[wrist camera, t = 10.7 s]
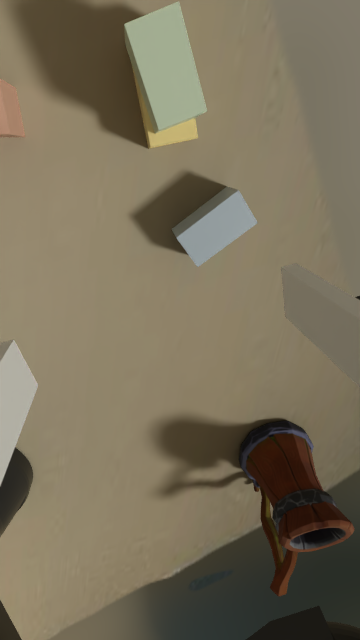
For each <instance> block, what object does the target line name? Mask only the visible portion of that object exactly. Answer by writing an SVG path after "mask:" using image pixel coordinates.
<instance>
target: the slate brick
mask: <svg viewBox="0 0 360 640" xmlns="http://www.w3.org/2000/svg"><path fill="white" fill-rule="evenodd" d="M255 224H257V221H256V219H255V217H254V216H253V214H252V212H251V211H250V209H249V207H248V205H247V204H246V202H245V200H244V199H243V197H242V195H241V193H240V192H239V190H237V189H233V188H230V187H225V188H224V189H223V190H222V191H220V192H219V193H218V194H216V195H215V196H214V197H212V198H211V199H210V200H209V201H207V202H206V203H205V204H203V205H202V206H201V207H199V208H198V209H197V210H196V211H194V212H193V213H192V214H190V215H189V216H188V217H187V218H185V219H184V220H183V221H181V222H180V223H179V224H177V225H176V226H175V227H174V228H172V231H173V233H174V235H175V236H176V238H177V239H178V241H179V242H180V244H181V245H182V246H183V248H184V249H185V250H186V252H187V253H188V255H189V256H190V257H191V259H192V260H193V261H194V263H195V264H196V265H197V267H198V266H200V265H201V264H202V263H204V262H205V261H207V260H208V259H209V258H211V257H212V256H213V255H215V254H216V253H217V252H219V251H220V250H221V249H223V248H224V247H226V246H227V245H228V244H230V243H231V242H232V241H234V240H235V239H236V238H238V237H239V236H240V235H242V234H243V233H245V232H246V231H247V230H249V229H250V228H251V227H253V226H254V225H255Z"/></svg>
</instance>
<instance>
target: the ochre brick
mask: <svg viewBox="0 0 360 640" xmlns="http://www.w3.org/2000/svg"><path fill="white" fill-rule="evenodd" d="M131 64H132V63H131ZM132 69H133V66H132ZM133 74H134V79H135V84H136V89H137V94H138V99H139V104H140V109H141V114H142V119H143V124H144V129H145V134H146V139H147V144H148V149H149V148H154V147H159V146H164V145H169V144H174V143H178V142H183V141H188V140H192V139H196V138H198V135H197V128H196V121H195V118H194V119H191V120H189V121H186V122H184V123H181V124H179V125H176V126H174V127H171V128H169V129H166V130H164V131H161V132H159V133H156V134H155V132H154V129H153V126H152V123H151V120H150V117H149V114H148V111H147V108H146V105H145V102H144V99H143V96H142V93H141V90H140V87H139V84H138V81H137V78H136V75H135V72H134V69H133Z"/></svg>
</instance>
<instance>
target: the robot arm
mask: <svg viewBox="0 0 360 640" xmlns="http://www.w3.org/2000/svg"><path fill="white" fill-rule="evenodd" d="M281 272H282V284H283V297H284V309H285V317H286V318H287V319H288V320H289V321H290V322H291V323H292V324H293V325H294V326H295V327H297V328H298V329H299V330H300V331H301V332H302V333H303V334H304V335H305V336H306V337H307V338H308V339H309V340H310V341H311V342H312V343H313V344H314V345H316V346H317V347H318V348H319V349H320V350H321V351H322V352H323V353H324V354H325V355H326V356H327V357H328V358H329V359H330V360H331V361H332V362H333V363H335V364H336V365H337V366H338V367H339V368H340V369H341V370H342V371H343V372H344V373H345V374H346V375H347V376H348V377H349V378H350V379H351V380H352V381H354V382H355V383H356V384H357V385H358V386H359V387H360V296H357V297H354V296H352V295H350V294H348V293H347V292H345V291H343V290H342V289H340V288H338V287H336V286H335V285H333V284H331V283H329V282H328V281H326V280H324V279H323V278H321V277H319V276H317V275H316V274H314V273H312V272H310V271H309V270H307V269H305V268H304V267H302V266H300V265H298V264H297V263H295V264H291V265H288V266H284V267H281ZM37 387H38V384H37V382H36V380H35V378H34V376H33V375H32V373H31V371H30V369H29V367H28V365H27V363H26V361H25V360H24V358H23V356H22V354H21V352H20V350H19V348H18V346H17V345H16V343H15V341H14V340H10V341H7V342H3V343H0V537H1V535H2V534H3V532H4V531H5V529H6V528H7V526H8V525H9V523H10V522H11V520H12V519H13V517H14V515H15V514H16V512H17V511H18V510H19V509H20V508H21V506H22V505H23V504H24V502H25V501H26V499H27V496H28V494H29V491H30V487H31V484H32V480H33V471H32V467H31V465H30V463H29V461H28V460H27V458H26V457H25V456H24V455H23V454H22V453H21V452H20V451H19V450H18V449H16V448H15V446H16V443H17V440H18V438H19V435H20V432H21V430H22V427H23V424H24V422H25V419H26V416H27V414H28V411H29V408H30V406H31V403H32V400H33V398H34V395H35V392H36V390H37ZM0 640H22V639H21V638H20V636H19V634H18V632H17V630H16V628H15V626H14V625H13V623H12V621H11V619H10V617H9V615H8V614H7V612H6V610H5V608H4V606H3V604H2V602H1V601H0ZM246 640H360V628H357V627H354V626H351V625H347V624H342V623H337V622H326V620H325V618H324V616H323V613H322V611H321V609H320V607H319V606H317V607H314V608H310V609H307V610H304V611H301V612H298V613H295V614H292V615H289V616H286V617H282V618H279V619H276V620H273V621H270V622H269V623H267V624H266V625H265V626H263V627H262V628H261V629H260V630H258V631H257V632H256V633H254V634H253V635H252V636H250V637H249V638H248V639H246Z"/></svg>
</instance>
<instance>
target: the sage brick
mask: <svg viewBox="0 0 360 640" xmlns="http://www.w3.org/2000/svg"><path fill="white" fill-rule="evenodd" d="M124 31H125V45H126V48H127V51H128V54H129V57H130V60H131V63H132V66H133V69H134V72H135V75H136V78H137V81H138V84H139V87H140V90H141V93H142V96H143V99H144V102H145V105H146V108H147V111H148V114H149V117H150V120H151V123H152V126H153V129H154V132H155V134H156V133H159V132H161V131H164V130H166V129H169V128H171V127H174V126H176V125H179V124H181V123H184V122H186V121H189V120H191V119H194V118H196V117H198V116H200V115H202V114H203V113H205V112H207V108H206V105H205V101H204V97H203V93H202V89H201V85H200V81H199V77H198V74H197V70H196V66H195V62H194V58H193V54H192V50H191V46H190V43H189V39H188V35H187V31H186V27H185V23H184V19H183V15H182V11H181V8H180V4H179V2H176V3H174V4H171V5H169V6H166V7H164V8H162V9H159V10H157V11H154V12H152V13H150V14H147V15H145V16H142V17H140V18H137V19H135V20H133V21H130V22H128V23H125V24H124Z"/></svg>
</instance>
